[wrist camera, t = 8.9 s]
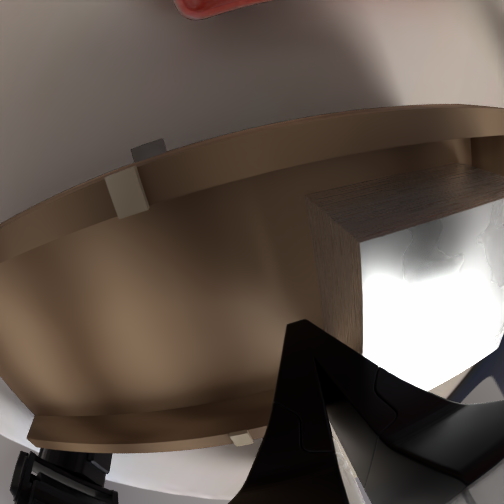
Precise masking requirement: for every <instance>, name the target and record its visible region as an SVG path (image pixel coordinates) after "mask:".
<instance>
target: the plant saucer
mask: <svg viewBox="0 0 504 504" xmlns="http://www.w3.org/2000/svg"><path fill="white" fill-rule="evenodd" d="M268 1H273V0H173V2H174V4H175V6H176V8H177V10H178V11H179V13H180V14H181V15H182V16H183V17H185V18H187V19H190V20H202V19H206V18H209V17H213V16H216V15H219V14H222V13H225V12H228V11H232V10H236V9H239V8H243V7H247V6H251V5H255V4H259V3H263V2H268Z"/></svg>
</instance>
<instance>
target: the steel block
mask: <svg viewBox="0 0 504 504" xmlns="http://www.w3.org/2000/svg"><path fill="white" fill-rule="evenodd" d="M304 197H305V203H306V208H307V214H308V220H309V225H310V231H311V237H312V243H313V250H314V256H315V262H316V269H317V276H318V283H319V290H320V298H321V305H322V313H323V321H324V330H325V331H326V332H327V333H329V334H330V335H332V336H333V337H335V338H336V339H338V340H339V341H341V342H343V343H344V344H346V345H347V346H349V347H350V348H352V349H353V350H355V351H357V352H358V353H360V354H361V355H363V356H364V357H366V358H368V359H369V360H371V361H372V362H374V363H376V364H377V365H378V366H379V367H382V368H384V369H385V370H387V371H388V372H390V373H392V374H394V375H395V376H397V377H399V378H401V379H402V380H405V381H407V382H409V383H411V384H413V385H415V386H417V387H419V388H421V389H424V390H426V391H428V390H430V389H432V388H434V387H436V386H438V385H439V384H441V383H443V382H445V381H447V380H448V379H450V378H452V377H454V376H455V375H457V374H459V373H460V372H462V371H464V370H465V369H467V368H469V367H470V366H472V365H473V364H475V363H476V362H478V361H480V360H481V359H483V358H484V357H486V356H487V355H488V354H490V353H491V352H493V351H494V350H496V349H497V348H498V346H499V344H500V341H501V338H502V336H503V333H504V177H503V176H500V175H497V174H495V173H492V172H489V171H486V170H483V169H479V168H476V167H473V166H470V165H466V164H463V163H460V162H458V163H453V164H447V165H442V166H437V167H431V168H426V169H421V170H416V171H411V172H406V173H401V174H396V175H391V176H386V177H382V178H377V179H372V180H368V181H363V182H359V183H354V184H350V185H346V186H341V187H337V188H333V189H328V190H324V191H320V192H316V193H311V194H307V195H304Z"/></svg>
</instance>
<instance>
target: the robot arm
mask: <svg viewBox="0 0 504 504" xmlns="http://www.w3.org/2000/svg"><path fill="white" fill-rule="evenodd" d="M329 421H330V423H331V425H332V427H333V429H334V431H335V433H336V435H337V437H338V439H339V440H340V442H341V444H342V446H343V448H344V450H345V452H346V454H347V456H348V458H349V460H350V462H351V464H352V466H353V468H354V470H355V472H356V474H357V476H358V478H359V480H360V482H361V483H362V485H363V487H364V488H365V492H366V493H367V496H368V497H369V499H370V501H371V503H372V504H504V400H502V401H495V402H487V403H477V404H461V403H456V402H452V401H450V400H447V399H445V398H442V397H440V396H438V395H435V394H433V393H431V392H428V391H426V390H424V389H421V388H419V387H417V386H415V385H413V384H411V383H409V382H407V381H405V380H402V379H401V378H399V377H397V376H395V375H394V374H392V373H390V372H388V371H387V370H385V369H384V368H382V367H379V366H378V365H377V364H376V363H374V362H372V361H371V360H369V359H368V358H366V357H364V356H363V355H361V354H360V353H358V352H357V351H355V350H353V349H352V348H350V347H349V346H347V345H346V344H344V343H343V342H341V341H339V340H338V339H336V338H335V337H333V336H332V335H330V334H329V333H327V332H326V331H324V330H322V329H321V328H319V327H318V326H316V325H315V324H313V323H312V322H310V321H309V320H307V319H302V320H299V321H296V322H292V323H289V324H287V325H286V330H285V336H284V342H283V348H282V354H281V360H280V365H279V371H278V376H277V382H276V387H275V393H274V398H273V403H272V407H271V412H270V417H269V421H268V425H267V428H266V431H265V434H264V437H263V440H262V443H261V445H260V448H259V450H258V453H257V455H256V458H255V460H254V463H253V465H252V468H251V470H250V472H249V475H248V477H247V479H246V481H245V483H244V485H243V486H242V488H241V490H240V491H239V492H238V494H237V495H236V496H235V497H234V498H233V499H232V500H231V501H230V502H229V503H228V504H349V500H348V497H347V493H346V490H345V486H344V483H343V480H342V476H341V473H340V469H339V465H338V460H337V456H336V451H335V446H334V441H333V437H332V432H331V427H330V423H329ZM111 459H112V453H89V452H74V451H63V450H54V449H46V448H41V449H40V452H39V455H38V456H37V455H36V454H35V453H33V452H32V451H30V452H29V454H28V453H26V452H23V451H20V454H19V457H18V460H17V463H16V466H15V470H14V474H13V478H12V482H11V487H10V491H11V493H12V495H13V497H14V500H13V501H14V502H15V504H118V492H116V491H114V490H108V489H106V488H104V482H105V476H106V474H108V473H109V471H110V465H111ZM32 471H33V472H35V473H37V476H35V475H33V474H31V472H32Z"/></svg>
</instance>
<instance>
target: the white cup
mask: <svg viewBox="0 0 504 504" xmlns="http://www.w3.org/2000/svg"><path fill="white" fill-rule="evenodd" d="M333 441H334V446H335V451H336V456H337V460H338V465H339V469H340V473H341V476H342V480H343V483H344V486H345V490H346V493H347V497H348V500H349V504H365V502H364V499H363V497H362V494H361V492H360V490H359V487H358V485H357V483H356V480H355V478H354V476H353V474H352V472H351V470H350V467H349V465H348V463H347V460H346V459H345V458H344V456H343V453H342V451H341V448H340V446H339V444H338V442H337V441H336V440H335V439H334V438H333Z"/></svg>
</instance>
